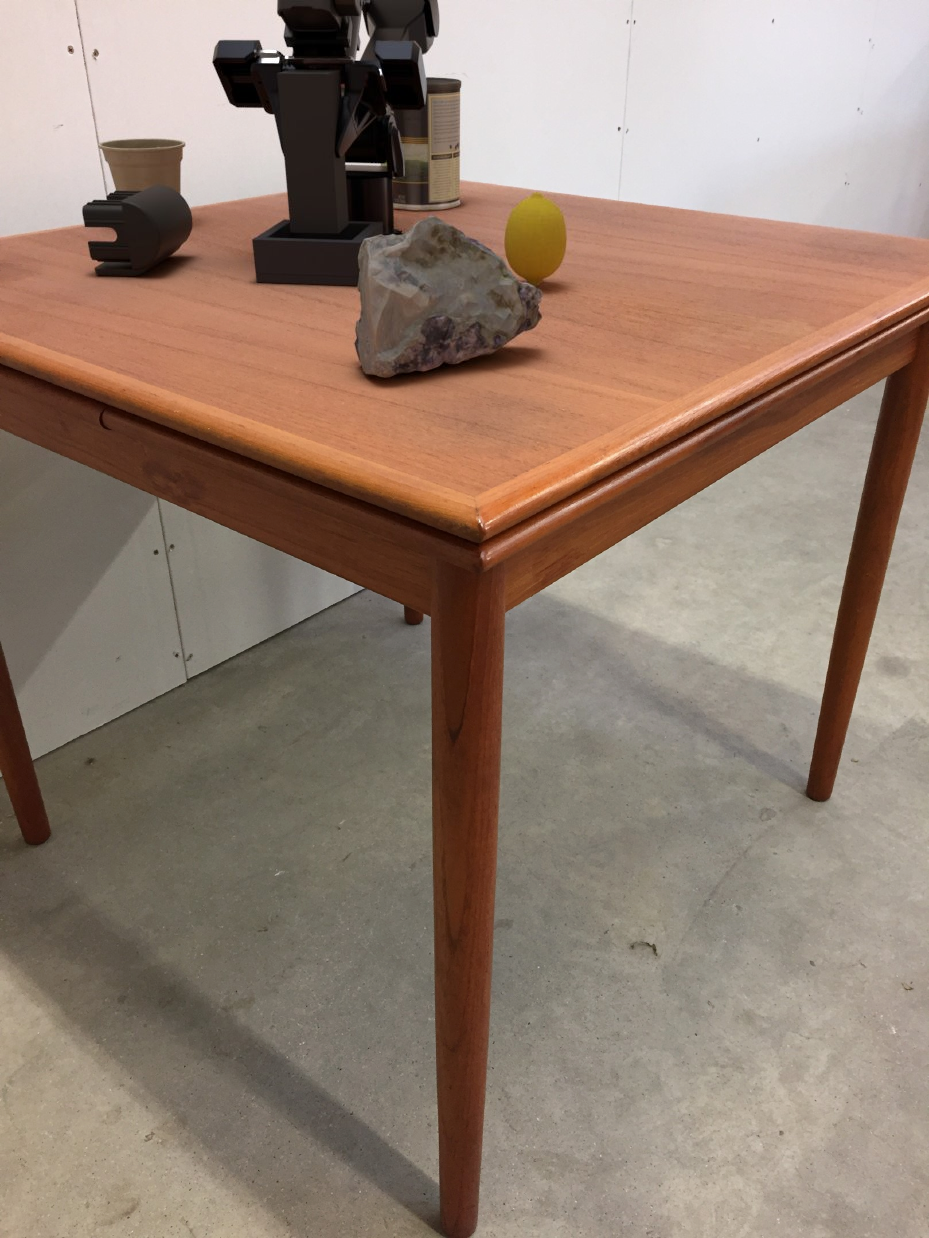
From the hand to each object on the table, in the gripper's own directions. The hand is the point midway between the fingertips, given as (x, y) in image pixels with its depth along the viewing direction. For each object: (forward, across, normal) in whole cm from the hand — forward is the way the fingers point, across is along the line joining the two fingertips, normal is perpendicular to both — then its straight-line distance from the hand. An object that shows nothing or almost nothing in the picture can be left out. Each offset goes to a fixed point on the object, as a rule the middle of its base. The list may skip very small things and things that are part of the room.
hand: (310, 154), depth 90 cm
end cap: (+6, -18, +9) cm, 21 cm away
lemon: (+9, +20, +6) cm, 23 cm away
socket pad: (+6, 0, +8) cm, 11 cm away
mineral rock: (+26, +16, -11) cm, 32 cm away
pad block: (+4, 0, +6) cm, 7 cm away
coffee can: (-21, +4, +36) cm, 42 cm away
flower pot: (-8, -25, +23) cm, 35 cm away
